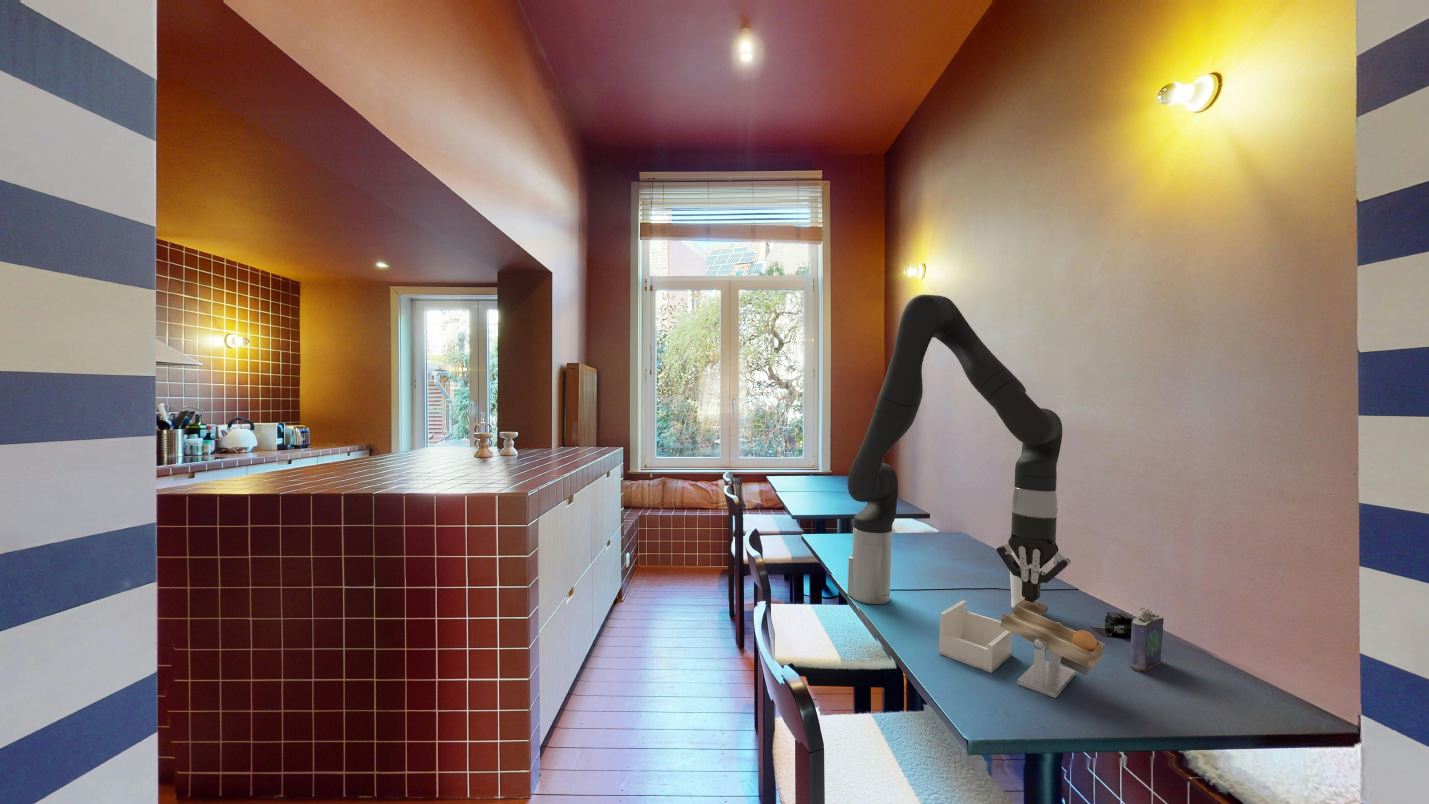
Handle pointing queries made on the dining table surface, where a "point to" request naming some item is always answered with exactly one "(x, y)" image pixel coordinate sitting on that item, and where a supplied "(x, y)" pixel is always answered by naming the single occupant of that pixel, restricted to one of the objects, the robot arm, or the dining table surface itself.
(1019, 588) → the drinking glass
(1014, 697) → the dining table surface
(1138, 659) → the flask
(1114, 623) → the black blocky device
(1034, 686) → the stand
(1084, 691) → the dining table surface
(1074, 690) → the dining table surface
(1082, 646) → the ball
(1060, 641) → the chute
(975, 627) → the white open bin
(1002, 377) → the robot arm
